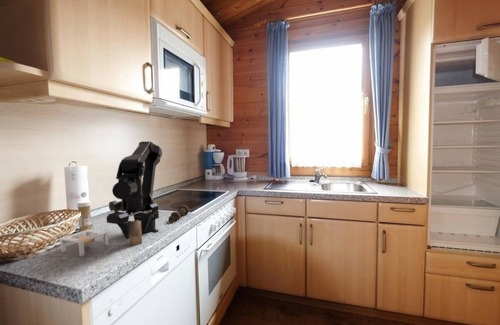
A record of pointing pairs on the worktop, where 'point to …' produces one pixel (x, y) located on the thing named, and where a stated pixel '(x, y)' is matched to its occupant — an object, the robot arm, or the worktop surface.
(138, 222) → the walnut cylinder
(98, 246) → the white mini table
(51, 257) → the worktop surface
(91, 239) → the orange square block
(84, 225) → the sprinkles bottle
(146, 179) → the robot arm
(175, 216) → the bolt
